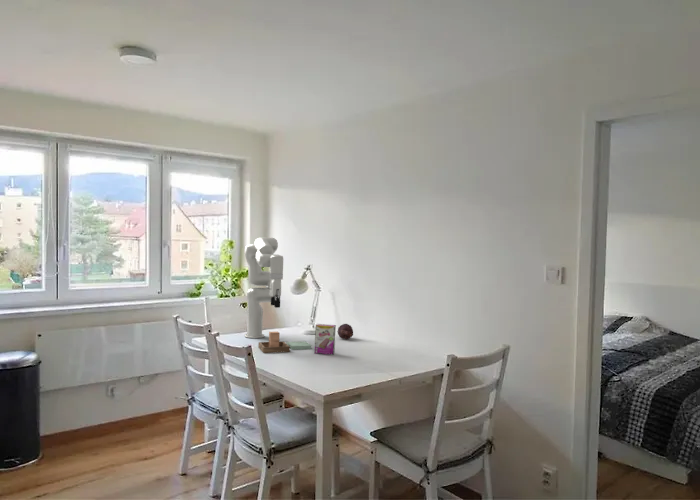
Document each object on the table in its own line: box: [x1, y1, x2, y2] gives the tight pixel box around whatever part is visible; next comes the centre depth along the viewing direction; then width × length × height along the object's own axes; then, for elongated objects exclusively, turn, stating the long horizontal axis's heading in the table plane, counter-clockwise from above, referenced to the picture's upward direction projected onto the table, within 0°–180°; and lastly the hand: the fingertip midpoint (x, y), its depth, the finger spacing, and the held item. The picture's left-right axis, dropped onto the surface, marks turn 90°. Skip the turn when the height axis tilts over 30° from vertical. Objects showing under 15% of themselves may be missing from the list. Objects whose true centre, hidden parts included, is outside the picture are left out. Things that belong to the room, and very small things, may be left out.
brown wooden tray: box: [257, 341, 291, 354], centre depth 302 cm, size 15×15×3 cm
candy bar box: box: [314, 323, 337, 355], centre depth 297 cm, size 11×5×16 cm, turn 84°
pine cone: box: [336, 323, 354, 340], centre depth 342 cm, size 18×10×10 cm, turn 20°
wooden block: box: [268, 331, 281, 347], centre depth 302 cm, size 5×5×10 cm
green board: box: [286, 340, 313, 351], centre depth 312 cm, size 12×12×2 cm
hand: (275, 306), depth 301 cm, fingers open, 9 cm apart
